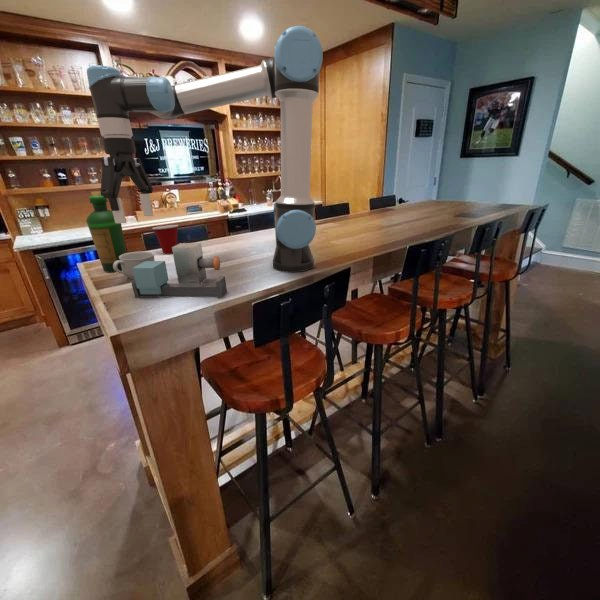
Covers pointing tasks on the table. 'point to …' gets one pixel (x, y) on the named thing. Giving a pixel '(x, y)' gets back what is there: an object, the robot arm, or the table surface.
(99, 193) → the bottle
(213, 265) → the button
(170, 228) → the plastic cup
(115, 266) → the teacup
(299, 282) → the table surface
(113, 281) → the table surface
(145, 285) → the carriage
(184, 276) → the cabinet
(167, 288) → the rail
